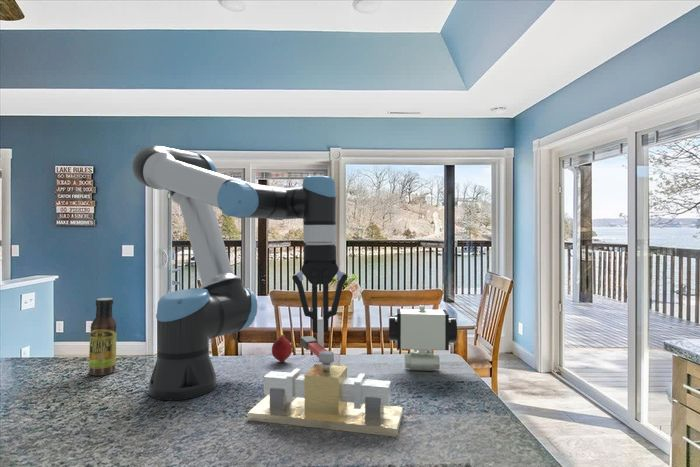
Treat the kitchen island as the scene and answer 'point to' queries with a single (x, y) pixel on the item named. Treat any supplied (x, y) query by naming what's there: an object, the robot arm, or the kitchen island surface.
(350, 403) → the valve pipe
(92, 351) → the sauce bottle
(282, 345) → the onion
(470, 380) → the kitchen island surface
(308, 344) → the lever
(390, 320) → the ball valve
